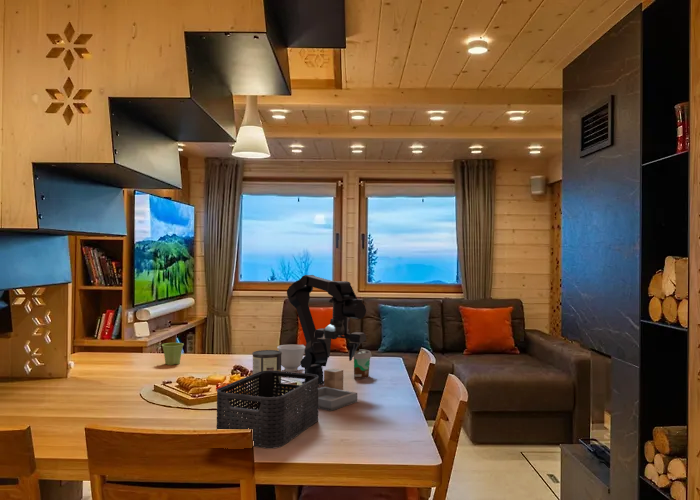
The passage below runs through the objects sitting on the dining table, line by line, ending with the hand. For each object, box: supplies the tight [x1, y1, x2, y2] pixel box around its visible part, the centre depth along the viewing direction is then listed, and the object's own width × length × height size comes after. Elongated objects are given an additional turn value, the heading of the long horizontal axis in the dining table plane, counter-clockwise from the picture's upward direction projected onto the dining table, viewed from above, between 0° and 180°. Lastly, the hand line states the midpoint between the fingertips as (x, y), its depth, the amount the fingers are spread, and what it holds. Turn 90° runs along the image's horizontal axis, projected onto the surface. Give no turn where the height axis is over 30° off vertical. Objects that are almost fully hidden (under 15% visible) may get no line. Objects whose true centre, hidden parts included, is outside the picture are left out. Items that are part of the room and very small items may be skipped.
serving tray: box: [301, 386, 358, 412], centre depth 183 cm, size 14×14×3 cm
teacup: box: [276, 343, 306, 372], centre depth 237 cm, size 12×15×10 cm
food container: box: [353, 348, 373, 380], centre depth 225 cm, size 12×6×10 cm, turn 168°
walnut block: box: [323, 367, 344, 390], centre depth 202 cm, size 5×5×7 cm
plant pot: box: [161, 342, 185, 366], centre depth 247 cm, size 9×9×9 cm
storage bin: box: [216, 370, 319, 449], centre depth 155 cm, size 29×19×13 cm
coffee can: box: [252, 349, 282, 394], centre depth 197 cm, size 10×10×14 cm
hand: (339, 359), depth 201 cm, fingers open, 9 cm apart
